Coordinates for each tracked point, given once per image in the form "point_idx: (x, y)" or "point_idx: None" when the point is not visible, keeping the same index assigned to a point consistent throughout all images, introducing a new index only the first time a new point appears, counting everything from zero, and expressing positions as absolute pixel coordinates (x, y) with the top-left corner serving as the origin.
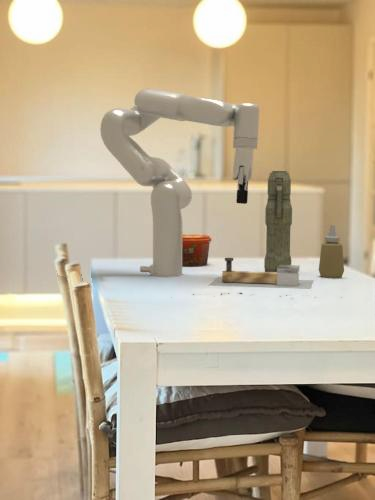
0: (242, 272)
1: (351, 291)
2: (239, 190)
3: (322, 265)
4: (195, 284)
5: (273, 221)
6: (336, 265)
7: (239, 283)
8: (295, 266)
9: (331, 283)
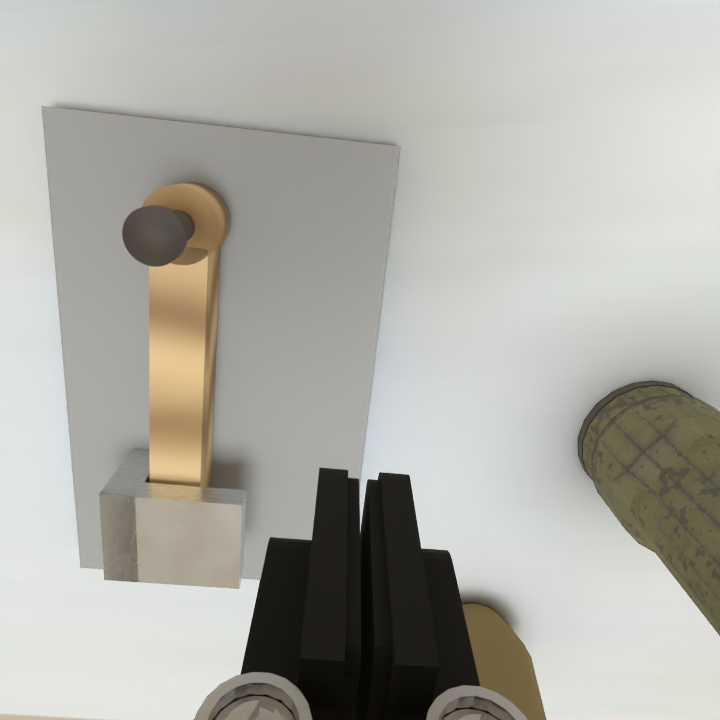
0: (150, 306)
1: (201, 677)
2: (230, 709)
3: None
4: (270, 10)
5: None
6: None
7: None
8: (188, 572)
9: None
